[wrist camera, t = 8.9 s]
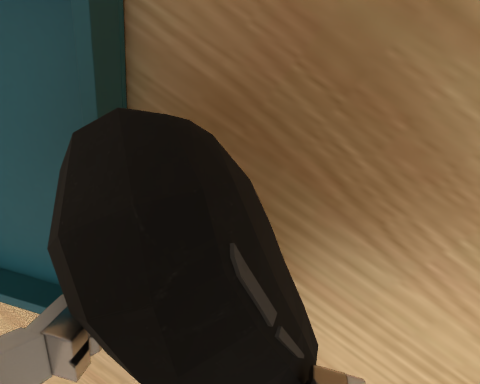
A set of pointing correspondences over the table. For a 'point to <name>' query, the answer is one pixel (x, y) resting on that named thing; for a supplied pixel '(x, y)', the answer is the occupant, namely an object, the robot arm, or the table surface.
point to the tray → (48, 123)
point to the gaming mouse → (174, 257)
